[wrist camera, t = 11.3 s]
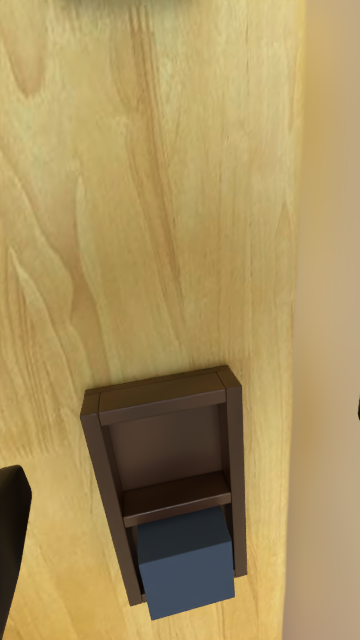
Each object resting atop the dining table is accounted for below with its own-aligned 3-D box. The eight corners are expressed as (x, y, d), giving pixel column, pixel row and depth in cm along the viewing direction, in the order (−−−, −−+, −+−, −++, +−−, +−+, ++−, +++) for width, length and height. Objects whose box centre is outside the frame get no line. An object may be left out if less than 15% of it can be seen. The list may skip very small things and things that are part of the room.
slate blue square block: (214, 487, 23) (232, 541, 19) (218, 540, 25) (235, 597, 21) (136, 505, 22) (138, 565, 18) (147, 558, 24) (151, 621, 20)
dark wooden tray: (227, 364, 20) (242, 385, 18) (236, 541, 26) (247, 574, 24) (85, 390, 19) (79, 416, 16) (129, 569, 25) (129, 607, 23)
